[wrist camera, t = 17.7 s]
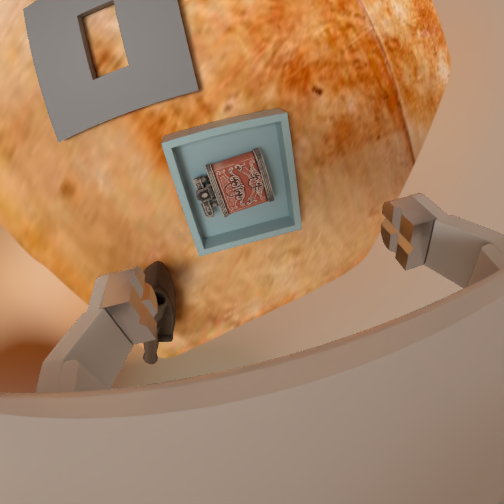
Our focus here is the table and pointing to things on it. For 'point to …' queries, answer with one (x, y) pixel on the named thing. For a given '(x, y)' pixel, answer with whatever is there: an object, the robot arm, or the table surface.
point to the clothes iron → (160, 308)
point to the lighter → (234, 184)
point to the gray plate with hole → (115, 83)
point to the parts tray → (224, 147)
